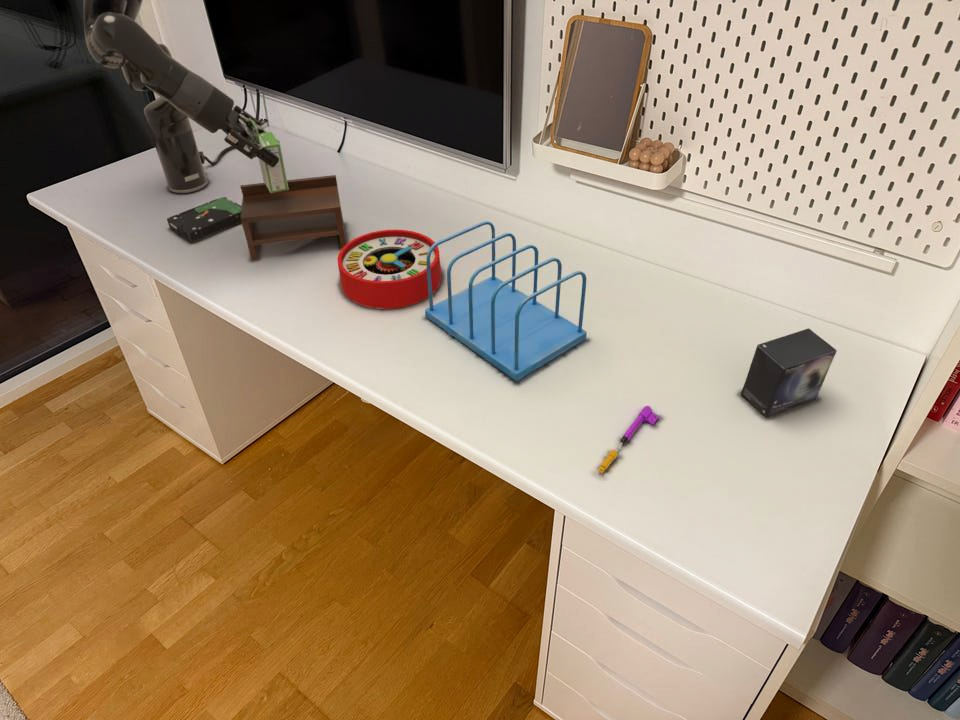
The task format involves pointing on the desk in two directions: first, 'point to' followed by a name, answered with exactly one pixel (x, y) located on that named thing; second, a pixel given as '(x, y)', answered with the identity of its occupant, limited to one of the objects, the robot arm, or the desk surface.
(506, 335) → the file sorter
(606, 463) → the purple orange tool
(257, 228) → the desk shelf
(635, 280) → the desk surface
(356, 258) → the toy clock
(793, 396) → the small box
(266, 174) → the ink box
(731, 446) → the desk surface
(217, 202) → the disk drive
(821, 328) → the desk surface
